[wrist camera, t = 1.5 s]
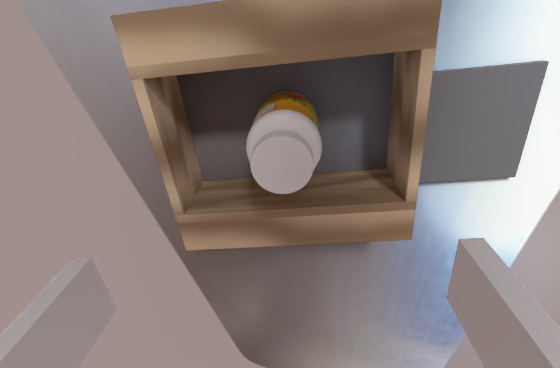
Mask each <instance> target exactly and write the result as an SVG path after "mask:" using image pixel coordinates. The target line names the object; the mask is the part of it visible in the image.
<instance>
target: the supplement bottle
mask: <svg viewBox="0 0 560 368" xmlns="http://www.w3.org/2000/svg"><path fill="white" fill-rule="evenodd" d="M246 152H247V157H248V159H249V162H250V167H251V172H252V175H253V177H254V179H255V180H256V182H257V183H258V184H259V185H260V186H261V187H263V188H264V189H266V190H267V191H270V192H272V193H277V194H288V193H293V192H295V191H298V190H299V189H301V188H303V187H304V186H305V185H306V184H307V183H308V181H309V180H310V178H311V176H312V174H313V170H314V169H315V168H316V166H317V164H318V162H319V160H320V157H321V153H322V142H321V136H320V131H319V125H318V118H317V114H316V111H315V108H314V106H313V105H312V103H311V102H310V101H309V100H308V99H307V98H306V97H305V96H303V95H301V94H299V93H297V92H293V91H281V92H278V93H275V94H273V95H271V96H270V97H268V98H267V99H266V100H265V101H264V102H263V103H262V105H261V107H260V108H259V110H258V112H257V115H256V117H255V119H254V122H253V124H252V127H251V129H250V131H249V134H248V137H247V142H246Z"/></svg>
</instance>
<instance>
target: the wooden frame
mask: <svg viewBox="0 0 560 368" xmlns="http://www.w3.org/2000/svg"><path fill="white" fill-rule="evenodd" d="M441 2H442V0H230V1H222V2H214V3H206V4H198V5H191V6H183V7H175V8H167V9H159V10H151V11H144V12H136V13H128V14H120V15H112V16H110V17H111V20H112V23H113V26H114V29H115V32H116V35H117V38H118V41H119V44H120V47H121V51H122V54H123V57H124V60H125V63H126V66H127V69H128V72H129V75H130V78H131V81H132V85H133V88H134V91H135V94H136V97H137V100H138V103H139V106H140V109H141V112H142V115H143V119H144V122H145V125H146V128H147V131H148V134H149V137H150V140H151V143H152V146H153V149H154V153H155V156H156V159H157V162H158V165H159V168H160V171H161V174H162V177H163V180H164V183H165V187H166V190H167V193H168V196H169V199H170V202H171V205H172V208H173V211H174V214H175V217H176V221H177V224H178V227H179V230H180V233H181V236H182V239H183V242H184V245H185V248H186V251H187V250H208V249H229V248H250V247H270V246H291V245H312V244H333V243H354V242H375V241H395V240H412V233H413V225H414V217H415V209H416V201H417V193H418V185H419V177H420V169H421V161H422V153H423V145H424V137H425V129H426V121H427V113H428V105H429V97H430V89H431V81H432V73H433V65H434V57H435V49H436V42H437V34H438V26H439V18H440V10H441ZM393 52H394V63H393V78H392V93H391V108H390V124H389V139H388V154H387V168H386V169H372V170H357V171H343V172H329V173H315V174H312V176H311V178H310V180H309V181H308V183H307V184H306V185H305V186H304V187H303V188H301V189H299V190H298V191H295V192H293V193H288V194H277V193H272V192H270V191H267V190H266V189H264V188H263V187H261V186H260V185H259V184H258V183H257V182H256V180H255V179H254V178H243V179H229V180H215V181H203V177H202V173H201V169H200V166H199V162H198V158H197V154H196V150H195V146H194V142H193V138H192V134H191V130H190V126H189V122H188V118H187V114H186V110H185V106H184V102H183V99H182V95H181V91H180V87H179V83H178V79H177V75H184V74H194V73H203V72H212V71H222V70H231V69H241V68H250V67H260V66H269V65H279V64H288V63H298V62H307V61H317V60H326V59H336V58H345V57H355V56H364V55H374V54H383V53H393Z"/></svg>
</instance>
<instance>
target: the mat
mask: <svg viewBox="0 0 560 368" xmlns="http://www.w3.org/2000/svg"><path fill="white" fill-rule="evenodd" d="M547 66H548V61H535V62H525V63H514V64H504V65H494V66H484V67H474V68H464V69H453V70H443V71H433V73H432V81H431V89H430V97H429V105H428V113H427V121H426V129H425V137H424V145H423V153H422V161H421V169H420V177H419V183H429V182H445V181H460V180H475V179H491V178H506V177H515V175H516V172H517V169H518V165H519V162H520V158H521V155H522V151H523V148H524V145H525V141H526V138H527V134H528V131H529V127H530V124H531V121H532V117H533V114H534V110H535V107H536V103H537V100H538V97H539V93H540V90H541V86H542V83H543V79H544V76H545V73H546V69H547Z"/></svg>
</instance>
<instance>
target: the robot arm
mask: <svg viewBox="0 0 560 368" xmlns="http://www.w3.org/2000/svg"><path fill="white" fill-rule="evenodd" d="M447 299H448V301H449V303H450V305H451V306H452V308H453V310H454V312H455V314H456V316H457V318H458V319H459V321H460V323H461V325H462V327H463V329H464V331H465V332H466V334H467V336H468V338H469V340H470V342H471V344H472V345H473V347H474V349H475V351H476V353H477V355H478V357H479V358H480V360H481V362H482V364H483V366H484V368H560V328H559V326H558V325H557V324H556V323H555V322H554V321H553V319H552V318H551V317H550V316H549V315H548V313H547V312H546V311H545V310H544V309H543V308H542V306H541V305H540V304H539V303H538V302H537V301H536V299H535V298H534V297H533V296H532V295H531V294H530V292H529V291H528V290H527V289H526V288H525V287H524V285H523V284H522V283H521V282H520V281H519V279H518V278H517V277H516V276H515V275H514V274H513V272H512V271H511V270H510V269H509V268H508V266H507V265H506V264H505V263H504V262H503V261H502V259H501V258H500V257H499V256H498V255H497V254H496V252H495V251H494V250H493V249H492V248H491V247H490V245H489V244H488V243H487V242H486V241H485V240H484V238H473V239H459V241H458V246H457V251H456V256H455V260H454V265H453V270H452V275H451V279H450V284H449V289H448V294H447ZM116 309H117V307H116V306H115V304H114V302H113V300H112V298H111V296H110V294H109V292H108V290H107V288H106V286H105V284H104V282H103V280H102V278H101V276H100V274H99V272H98V270H97V268H96V266H95V264H94V262H93V260H92V259H91V258H72V259H71V260H70V261H69V262H68V263H67V264H66V265H65V266H64V267H63V269H62V270H61V271H60V272H59V273H58V274H57V275H56V276H55V277H54V278H53V279H52V280H51V281H50V282H49V283H48V284H47V285H46V287H45V288H44V289H43V290H42V291H41V292H40V293H39V294H38V295H37V296H36V297H35V298H34V299H33V300H32V301H31V302H30V303H29V304H28V305H27V307H26V308H25V309H24V310H23V311H22V312H21V313H20V314H19V315H18V316H17V317H16V318H15V319H14V320H13V321H12V322H11V324H10V325H9V326H8V327H7V328H6V329H5V330H4V331H3V332H2V333H1V334H0V368H80V367H81V365H82V364H83V362H84V360H85V359H86V357H87V355H88V354H89V352H90V351H91V349H92V348H93V346H94V344H95V343H96V341H97V340H98V338H99V336H100V335H101V333H102V332H103V330H104V328H105V327H106V325H107V324H108V322H109V320H110V319H111V317H112V316H113V314H114V312H115V311H116Z"/></svg>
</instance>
